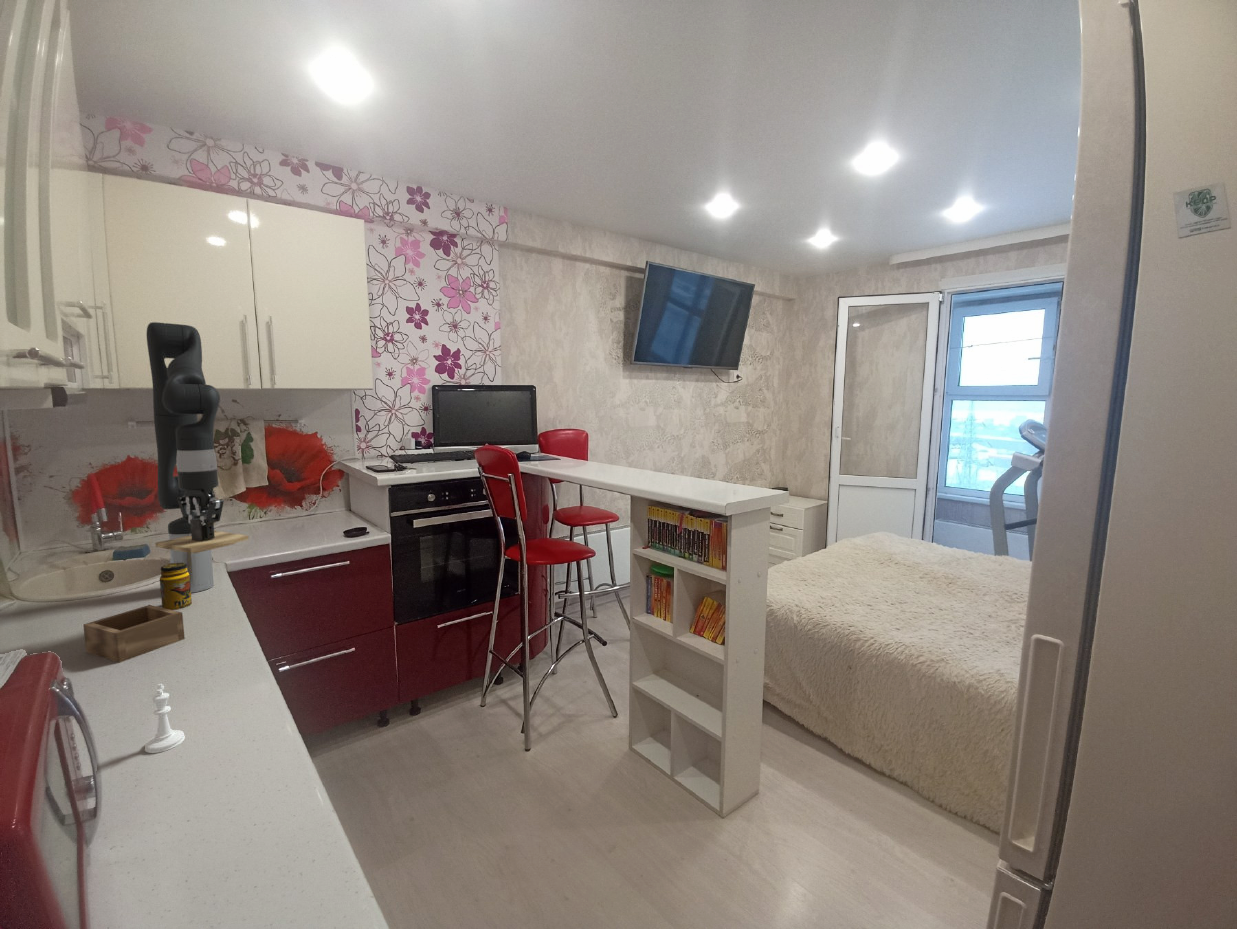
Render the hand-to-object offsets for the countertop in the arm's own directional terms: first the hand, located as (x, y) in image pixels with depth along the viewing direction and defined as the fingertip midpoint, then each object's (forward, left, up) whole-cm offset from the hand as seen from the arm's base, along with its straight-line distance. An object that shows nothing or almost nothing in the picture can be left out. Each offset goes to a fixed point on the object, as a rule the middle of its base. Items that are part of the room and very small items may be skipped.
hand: (203, 538), depth 129 cm
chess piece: (+43, -33, -22) cm, 58 cm away
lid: (0, 0, -1) cm, 1 cm away
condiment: (-18, +2, -22) cm, 28 cm away
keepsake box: (0, -15, -21) cm, 26 cm away
